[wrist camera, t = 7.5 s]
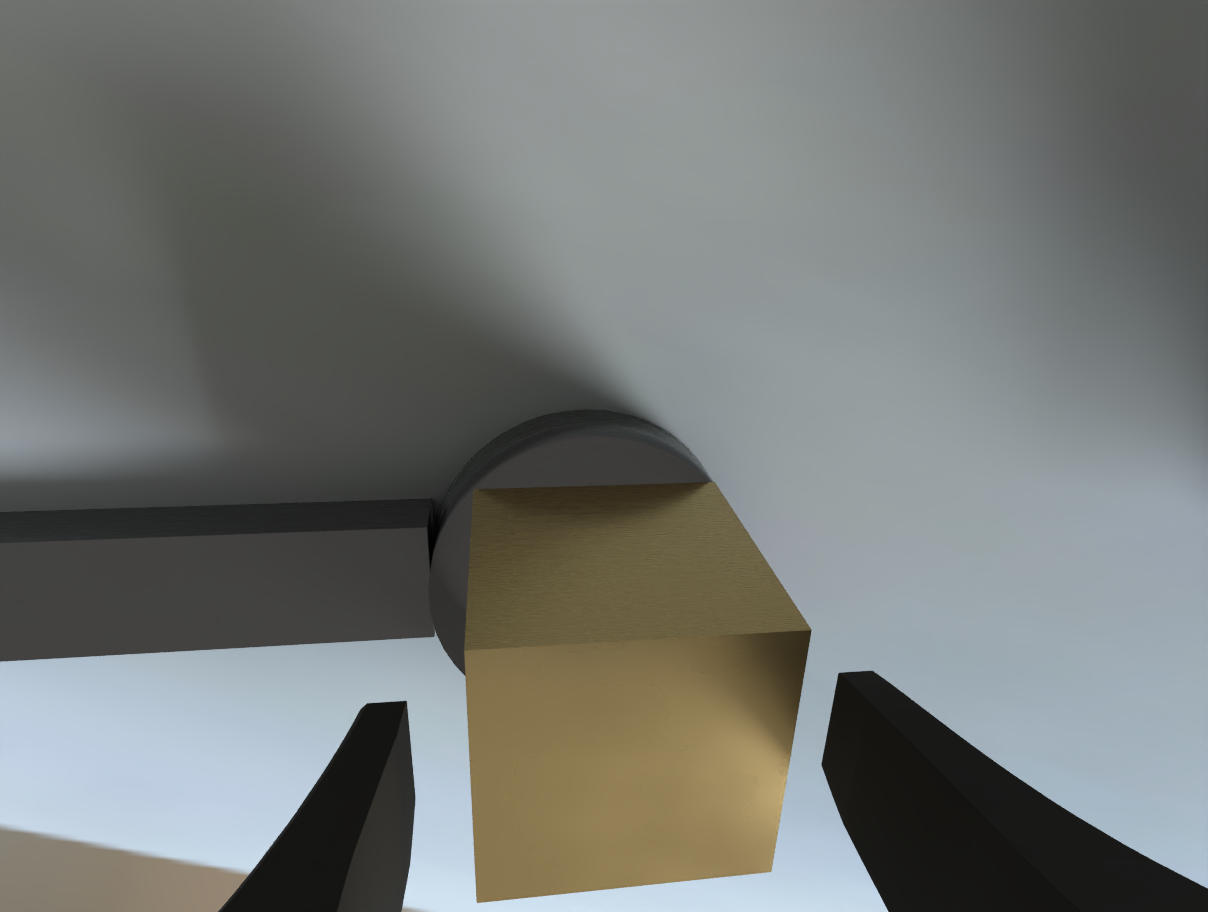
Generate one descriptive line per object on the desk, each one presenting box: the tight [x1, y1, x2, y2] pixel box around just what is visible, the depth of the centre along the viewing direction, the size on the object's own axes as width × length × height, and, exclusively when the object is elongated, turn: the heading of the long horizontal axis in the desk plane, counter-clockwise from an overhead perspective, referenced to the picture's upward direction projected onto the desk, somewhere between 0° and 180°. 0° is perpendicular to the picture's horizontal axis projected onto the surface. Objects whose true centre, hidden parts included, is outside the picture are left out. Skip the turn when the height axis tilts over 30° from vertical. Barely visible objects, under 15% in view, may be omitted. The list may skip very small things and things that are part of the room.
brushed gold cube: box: [464, 482, 811, 903], centre depth 14 cm, size 5×5×5 cm
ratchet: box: [0, 410, 713, 676], centre depth 15 cm, size 19×7×4 cm, turn 87°
